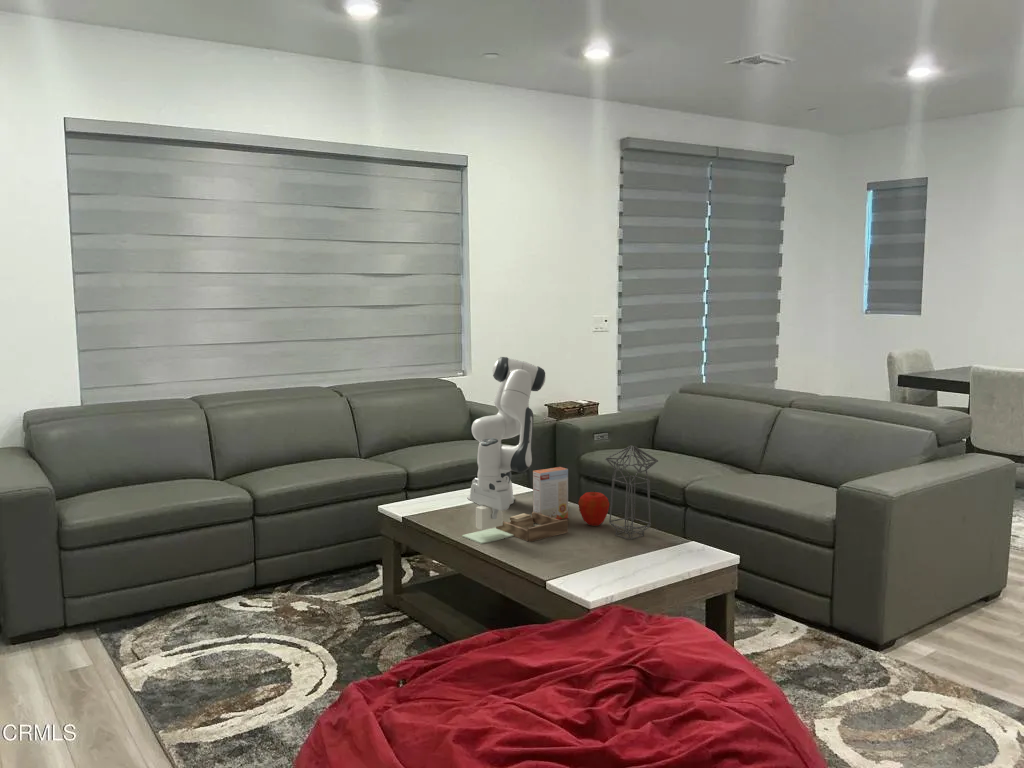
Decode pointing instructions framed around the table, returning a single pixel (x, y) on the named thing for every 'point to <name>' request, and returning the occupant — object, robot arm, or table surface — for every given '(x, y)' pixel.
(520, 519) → the offcut stack
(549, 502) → the cracker box
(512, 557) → the table surface
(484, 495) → the robot arm
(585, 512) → the apple
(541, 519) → the wooden frame
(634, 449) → the geometric lantern
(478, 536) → the mat
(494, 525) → the white rectangular block
